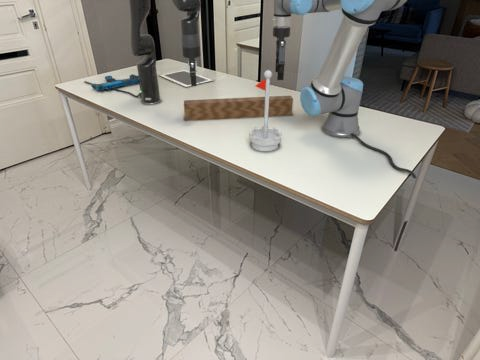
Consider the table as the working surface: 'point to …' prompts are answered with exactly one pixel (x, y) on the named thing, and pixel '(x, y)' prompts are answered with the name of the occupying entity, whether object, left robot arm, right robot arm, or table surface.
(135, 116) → the table surface
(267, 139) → the flag stand
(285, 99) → the beam
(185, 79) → the tablet
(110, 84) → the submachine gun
